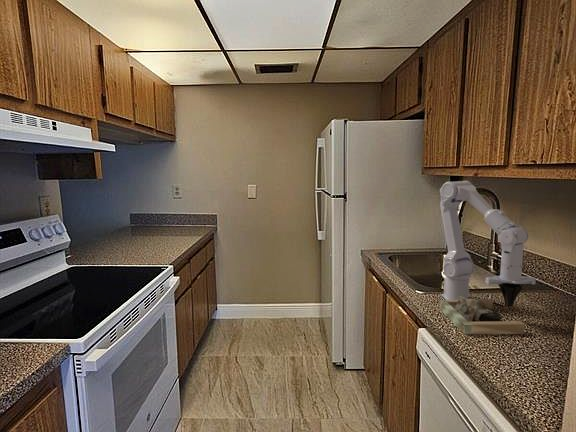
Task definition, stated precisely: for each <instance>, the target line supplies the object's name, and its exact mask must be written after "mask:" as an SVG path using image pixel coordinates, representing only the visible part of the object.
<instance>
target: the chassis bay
mask: <svg viewBox="0 0 576 432" xmlns="http://www.w3.org/2000/svg"><path fill="white" fill-rule="evenodd" d="M479 300H480V301H482V302H483V303H484V304H485V306H486V307H487V308H490V309H492V310H493V304H494V302H493V300H491V299H479ZM457 302H458V300H446V299H439V300H438V309H439V310H440V311H441V312H442V313H443V314H444V315H445V316H446V317H447V319H448V320H450V322H451V323H453V325H454V326H455V327H456V328H458V330H459V331H460V332H461V333H463V335H518V334H519V335H524V334H525V331H526V329H525V327H526V325H525V323H524V322H522V321H520V320H519V321H515V320H513V321H504V320H503V321H501V320H500V321H499V322H480V321H472V322H468V321H467V320H466V319H465V318H464V317H463V316H462V315H460V314H459V313H458V312H457V311H456V310H455V307H456V305H457Z"/></svg>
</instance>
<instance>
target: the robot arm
mask: <svg viewBox="0 0 576 432" xmlns="http://www.w3.org/2000/svg"><path fill="white" fill-rule="evenodd" d="M439 195H440V202H439V205H440V206H439V208H440V213H441V219H442V224H443V230H444V235H445V240H446V247H447V248H446V249H447V253H446V254H445V256H444V257H443V272H444V274H445V278H444V280H443V293H442V294H441V297H442V298H444V300H458V299H459V297H460V296H462V297H464V298H465V299H470V298H469V296H470V295H469V293H470V278H471V275H472V274H473V273H475V268H476V267H475V264H474V263H475V262H473V260H472V258H471V254H469V253H468V252H467V251H466V250H465V245H464V240H463V235H462V228H461V223H460V218H459V214H458V213H459V212H458V208H459V206H460V205H461V204H462V203H463V202H468V203H469V204H470V205H471V206H472V207H473V208H475V209H476V210H477V211H478V212H479V213H480V214H481V215H483V217H484V222H485V223H486V224H487V226H489V227H490V229H491V230H492V231H494V232H495V233H496V235H497V239H498V241H499V243H500V245H501V246H500V249H501V255H500V256H501V259H500V269H499V270H500V271H499V273H500V274H499V275H497V276H496V275H495V276H486V277H485V284H487V285H488V286H491V285H498V287H499V289H500V291H501V293H502V297H503V301H504V305H505V306H507V307H510V308H511V307H512V308H513V306H514V304H515V302H516V299H517V297H518V295H519V294H520V293H521V292H522V290H523V286H522V285H526V284H527V285H536V280H537V278H535V277H533V276H524V275H523V276H522V273H523V259H524V256H523V255H524V246H525V245H524V244H525V243H527V241H528V239H529V232H528V231H527V229H526V228H525V227H524V226H523V225H517V223H515V222H514V221H512V220H511V219H510V218H509V217H508V216H507V215H506V212H505V211H504V210H500V209H497V208H496V209H494V208H493V207H492V206H491V205H490V204H489V202H487V201H486V200H485V198H484V197H483V196H482V195H481V194H480V193H479V192H478V191H477V188H476V186H475V185H473V184H472V183H471V182H470V181H469V180H462V181H461V180H458V181H446V182H444V183H443V184H442V186H441V187H440V189H439Z"/></svg>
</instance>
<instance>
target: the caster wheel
mask: <svg viewBox="0 0 576 432" xmlns="http://www.w3.org/2000/svg"><path fill="white" fill-rule="evenodd" d="M480 300H481V299H477V298H468V299H465V298H464V297H462V296H460V297H459V299H458V302H457V305H456V307H455V310H456V311H457V312H458V313H459V314H460V315H462V316H463V317H464V318H465V319H466V320H467V321H468V322H473V320H474V321H476V322H499V321H501V320H502V315H501V314H500V313H499V312H497V311H496V310H494V309H493V308H492V309H490V308H487V307H486V306H485V304H484V303H483V302H482V301H480Z"/></svg>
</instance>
